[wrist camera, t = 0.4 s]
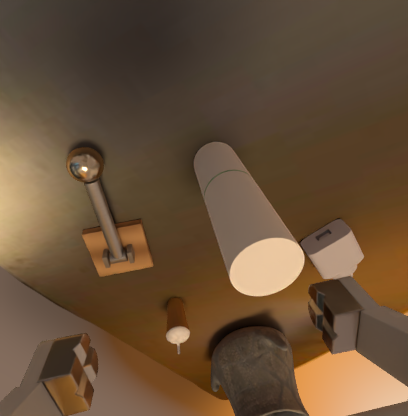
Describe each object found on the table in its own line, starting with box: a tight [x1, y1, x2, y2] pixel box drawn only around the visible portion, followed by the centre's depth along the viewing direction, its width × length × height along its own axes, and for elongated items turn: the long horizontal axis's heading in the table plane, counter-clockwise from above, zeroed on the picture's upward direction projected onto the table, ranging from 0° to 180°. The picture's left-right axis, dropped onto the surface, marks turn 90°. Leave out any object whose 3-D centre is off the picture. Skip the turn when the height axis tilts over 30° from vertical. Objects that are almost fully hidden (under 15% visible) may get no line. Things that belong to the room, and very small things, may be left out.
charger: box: [300, 219, 364, 279], centre depth 61 cm, size 5×9×15 cm
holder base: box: [82, 219, 153, 277], centre depth 52 cm, size 10×10×4 cm
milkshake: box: [166, 297, 190, 354], centre depth 60 cm, size 4×5×10 cm
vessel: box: [211, 326, 309, 416], centre depth 67 cm, size 22×22×20 cm
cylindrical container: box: [194, 142, 304, 296], centre depth 38 cm, size 7×7×25 cm
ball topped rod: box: [66, 147, 128, 264], centre depth 46 cm, size 21×5×5 cm, turn 7°
